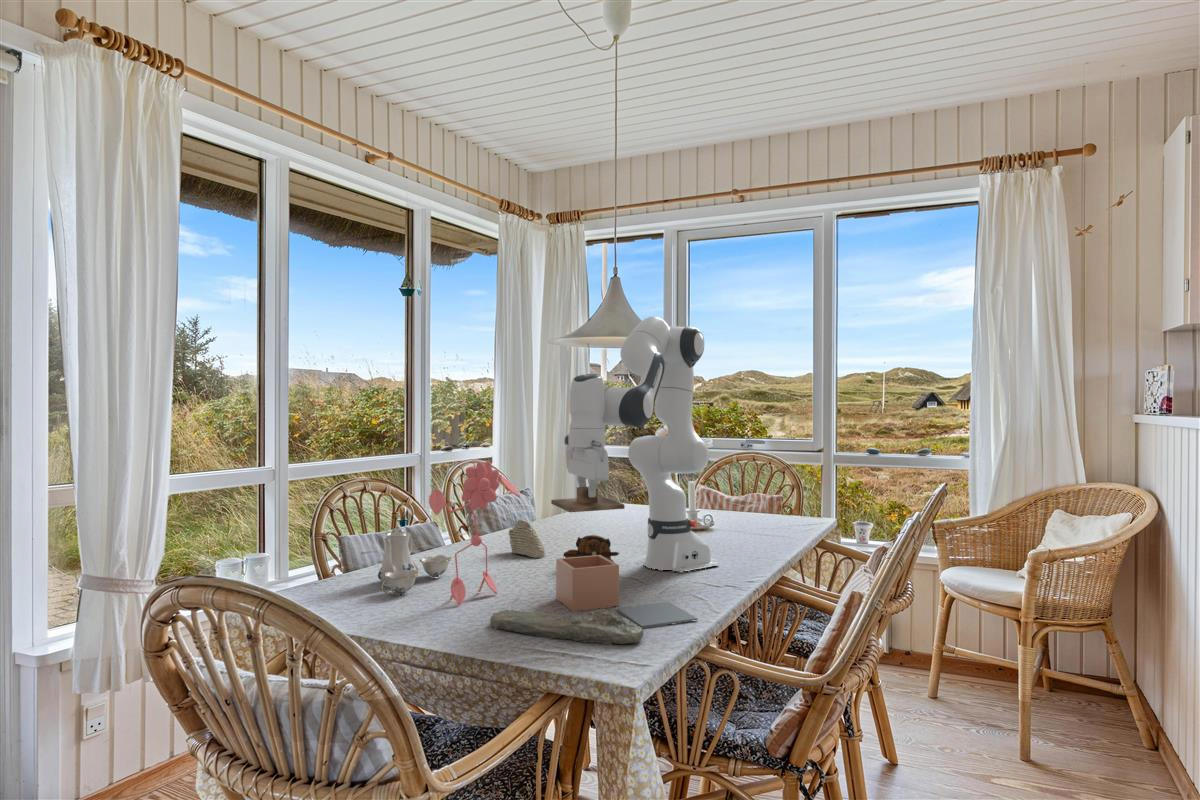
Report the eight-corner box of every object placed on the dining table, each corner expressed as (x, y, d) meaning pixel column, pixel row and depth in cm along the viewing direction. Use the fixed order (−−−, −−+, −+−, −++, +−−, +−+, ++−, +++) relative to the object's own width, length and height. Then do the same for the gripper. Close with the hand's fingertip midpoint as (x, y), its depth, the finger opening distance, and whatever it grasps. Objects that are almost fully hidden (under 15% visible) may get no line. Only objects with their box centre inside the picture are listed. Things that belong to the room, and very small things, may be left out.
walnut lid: (602, 500, 185) (602, 483, 184) (624, 508, 172) (624, 490, 172) (551, 503, 179) (551, 485, 179) (570, 512, 166) (570, 493, 166)
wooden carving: (563, 572, 206) (563, 537, 206) (563, 568, 210) (563, 534, 210) (619, 571, 206) (619, 537, 206) (618, 567, 211) (619, 534, 211)
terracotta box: (600, 593, 183) (600, 554, 183) (618, 606, 172) (619, 565, 172) (556, 598, 179) (556, 558, 179) (572, 611, 168) (572, 569, 168)
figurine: (419, 607, 171) (422, 462, 170) (500, 585, 190) (503, 455, 190) (459, 622, 161) (462, 468, 160) (540, 597, 180) (543, 460, 180)
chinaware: (410, 606, 177) (417, 541, 177) (350, 596, 180) (356, 531, 180) (455, 578, 204) (460, 521, 204) (402, 569, 208) (407, 513, 207)
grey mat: (668, 604, 174) (668, 601, 174) (697, 621, 161) (697, 618, 161) (616, 610, 169) (616, 608, 169) (641, 628, 156) (641, 625, 156)
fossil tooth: (535, 563, 221) (502, 552, 231) (549, 559, 226) (517, 548, 236) (536, 527, 220) (504, 517, 230) (550, 523, 225) (518, 514, 234)
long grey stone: (503, 624, 164) (482, 640, 154) (501, 601, 163) (480, 616, 154) (649, 633, 152) (636, 651, 143) (647, 608, 152) (634, 625, 142)
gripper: (615, 442, 167) (615, 500, 167) (584, 436, 186) (584, 489, 186) (590, 442, 164) (590, 502, 165) (561, 437, 183) (561, 490, 184)
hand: (587, 495), depth 175 cm, fingers closed on walnut lid, 4 cm apart
